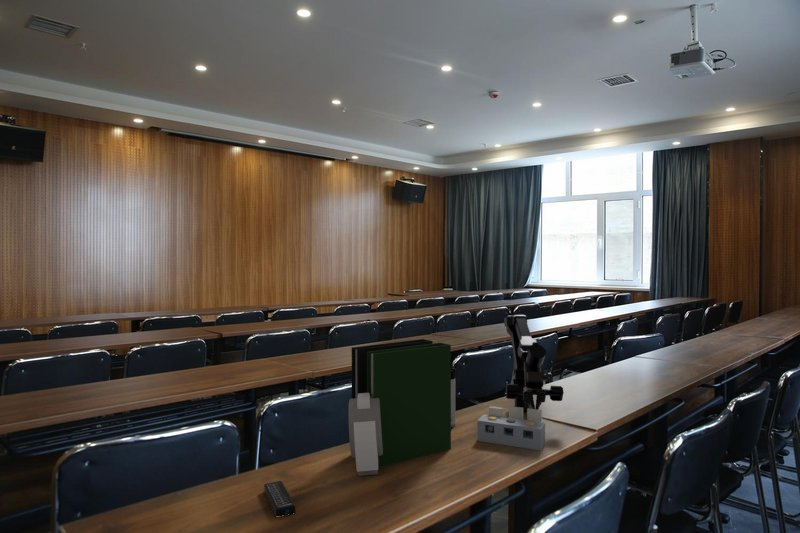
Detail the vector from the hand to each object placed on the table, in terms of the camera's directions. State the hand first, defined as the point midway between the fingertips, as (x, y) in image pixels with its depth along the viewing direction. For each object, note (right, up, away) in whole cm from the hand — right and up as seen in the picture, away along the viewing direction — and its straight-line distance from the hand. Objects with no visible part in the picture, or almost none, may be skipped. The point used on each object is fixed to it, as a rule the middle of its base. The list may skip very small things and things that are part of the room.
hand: (535, 415), depth 164 cm
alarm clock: (-54, -7, -25) cm, 60 cm away
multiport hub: (-74, -8, -45) cm, 87 cm away
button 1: (-14, -4, -2) cm, 15 cm away
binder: (-45, -7, -13) cm, 47 cm away
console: (-9, -7, -6) cm, 13 cm away
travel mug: (-28, -7, +10) cm, 31 cm away
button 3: (-2, -4, -5) cm, 6 cm away
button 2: (-8, -4, -2) cm, 9 cm away
